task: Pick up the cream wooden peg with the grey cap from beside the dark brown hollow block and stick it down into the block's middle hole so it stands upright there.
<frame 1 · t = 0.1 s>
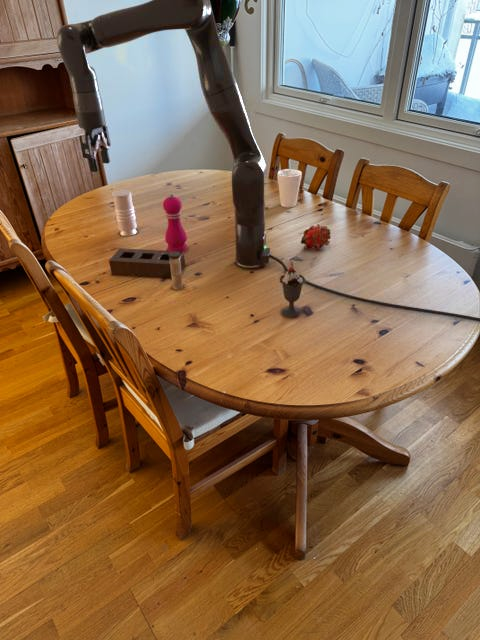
hand: (100, 167, 139), 29 cm above the table, tool pointing down, fingers open, 8 cm apart
sundae: (290, 312, 125), on the table
dark brown hollow block: (149, 270, 146), on the table
foam cup: (288, 205, 190), on the table
peg: (178, 287, 137), on the table
pepper mill: (177, 250, 158), on the table
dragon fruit: (314, 248, 156), on the table
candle: (128, 233, 171), on the table
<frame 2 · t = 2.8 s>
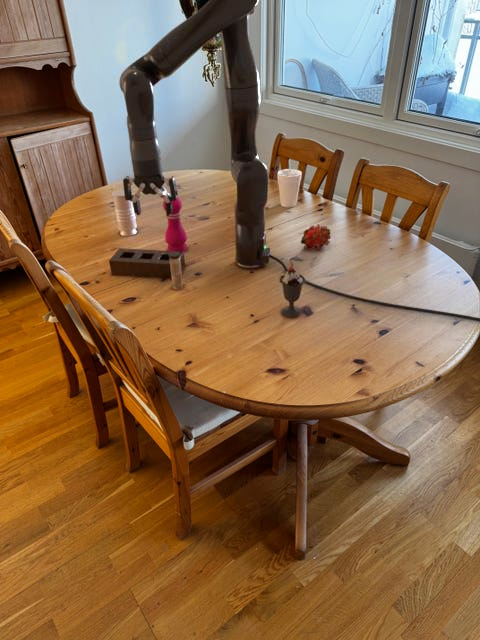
hand: (154, 214, 130), 21 cm above the table, tool pointing down, fingers open, 8 cm apart
nothing on the table moved.
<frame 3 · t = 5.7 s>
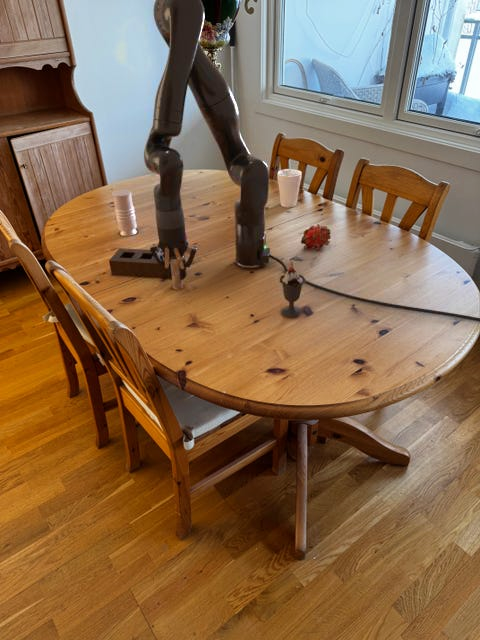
hand: (177, 277, 135), 3 cm above the table, tool pointing down, fingers closed on peg, 3 cm apart
peg: (178, 287, 137), on the table, touching gripper
everything else where it was.
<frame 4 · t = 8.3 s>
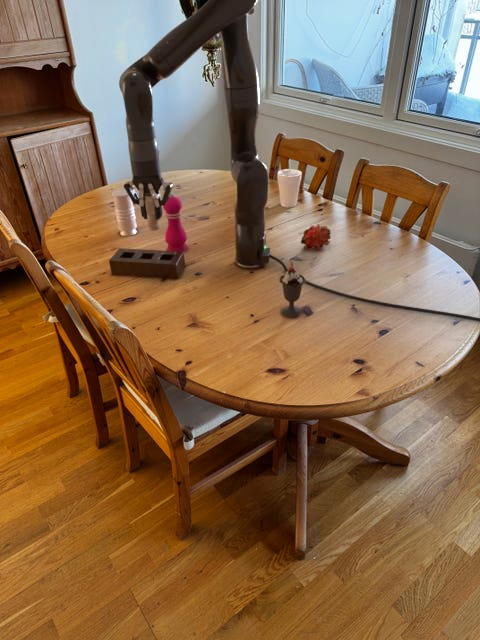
hand: (152, 218, 131), 19 cm above the table, tool pointing down, fingers closed on peg, 3 cm apart
peg: (153, 228, 133), point 16 cm above the table, touching gripper
everything else where it was.
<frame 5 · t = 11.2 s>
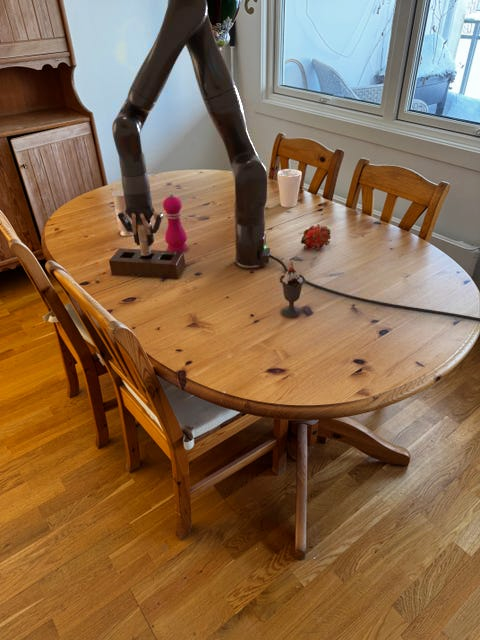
hand: (144, 244, 141), 9 cm above the table, tool pointing down, fingers closed on peg, 3 cm apart
peg: (146, 253, 143), point 6 cm above the table, touching gripper
everything else where it was.
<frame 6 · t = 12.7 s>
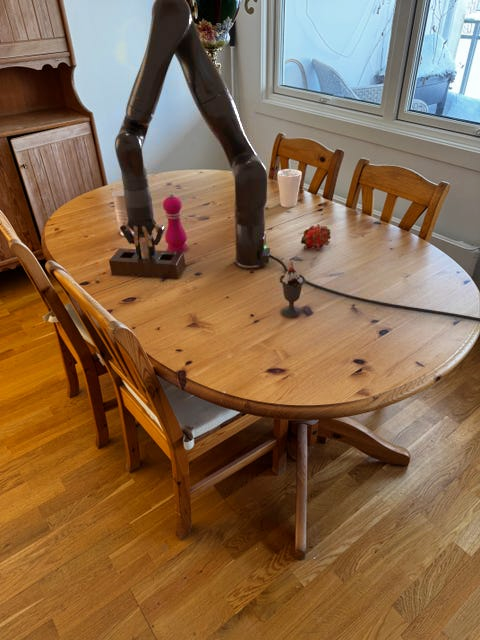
hand: (146, 255, 143), 5 cm above the table, tool pointing down, fingers closed on peg, 3 cm apart
peg: (147, 264, 145), point 2 cm above the table, touching gripper
everything else where it was.
when the fingers open (6 cm above the table, at t = 16.9 s): peg drops 3 cm, resting in dark brown hollow block.
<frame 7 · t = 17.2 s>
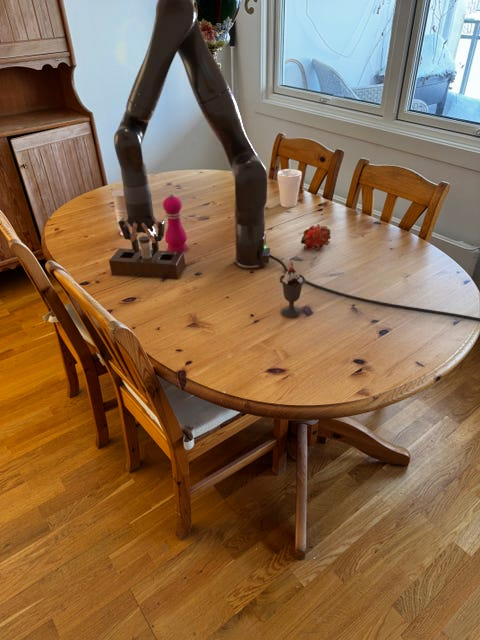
hand: (146, 251, 142), 6 cm above the table, tool pointing down, fingers open, 5 cm apart
peg: (149, 270, 146), resting in dark brown hollow block
everything else where it was.
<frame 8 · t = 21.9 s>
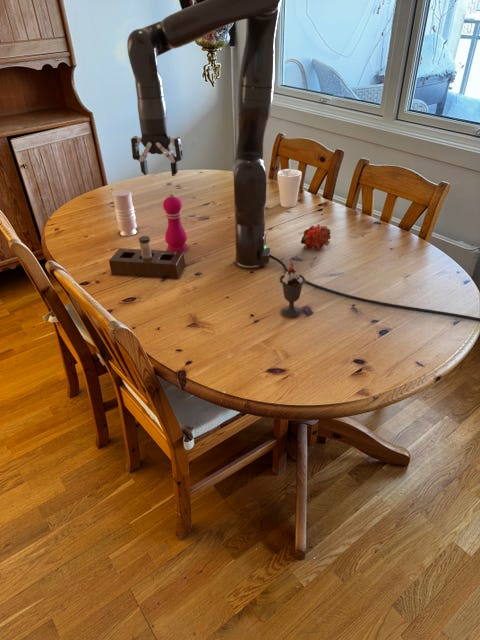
hand: (160, 174, 135), 28 cm above the table, tool pointing down, fingers open, 8 cm apart
nothing on the table moved.
at the end: peg 0.0 cm off-centre in the dark brown hollow block, point 0.0 cm above the dark brown hollow block's base; peg tilted 0°; the gripper is holding nothing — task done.
